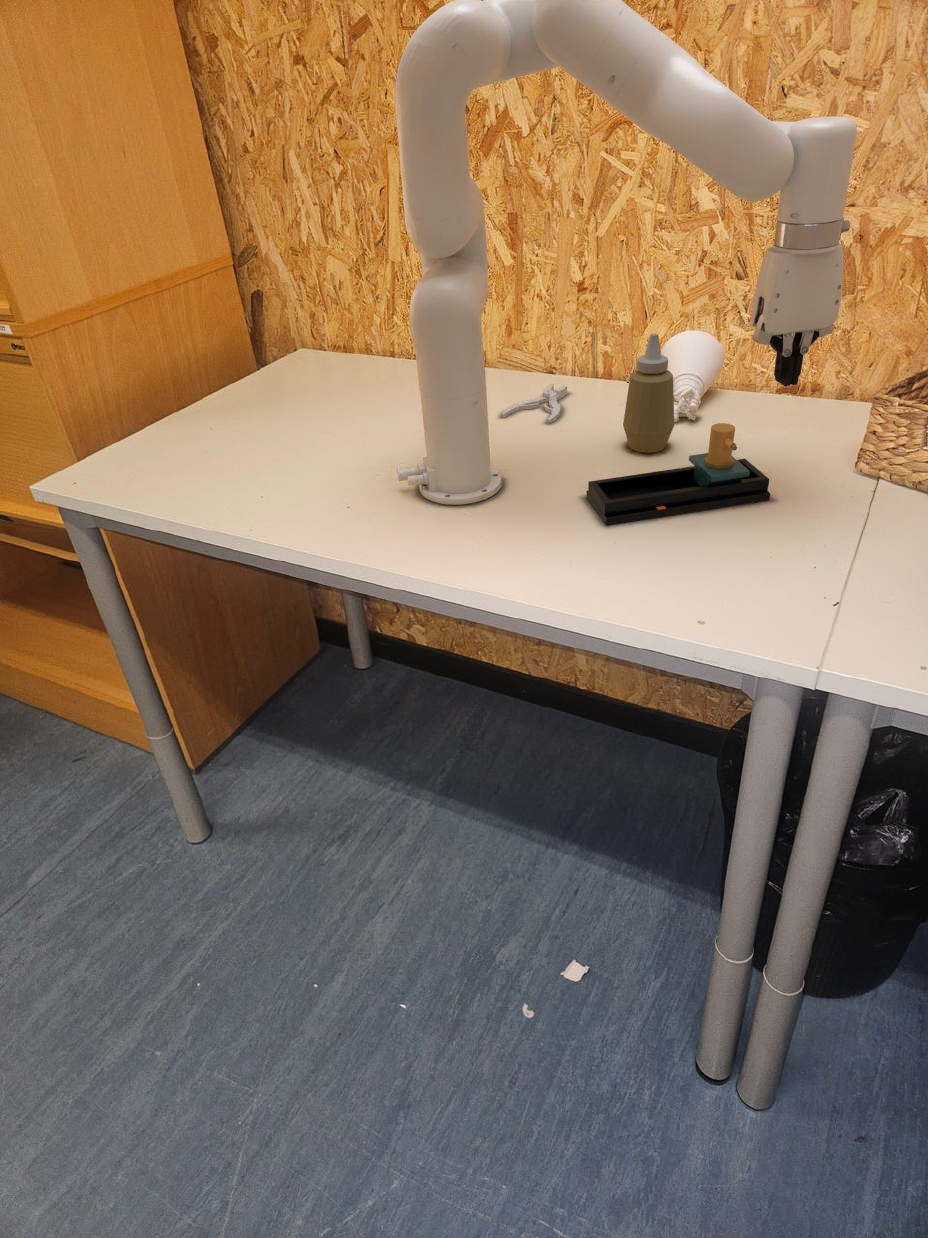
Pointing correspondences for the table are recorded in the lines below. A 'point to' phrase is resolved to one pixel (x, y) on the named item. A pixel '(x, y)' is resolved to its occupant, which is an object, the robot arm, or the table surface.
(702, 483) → the nozzle
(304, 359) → the table surface
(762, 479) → the black rectangular tray
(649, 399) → the squeeze bottle
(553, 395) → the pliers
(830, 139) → the robot arm
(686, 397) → the rocket engine
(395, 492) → the table surface
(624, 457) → the table surface
